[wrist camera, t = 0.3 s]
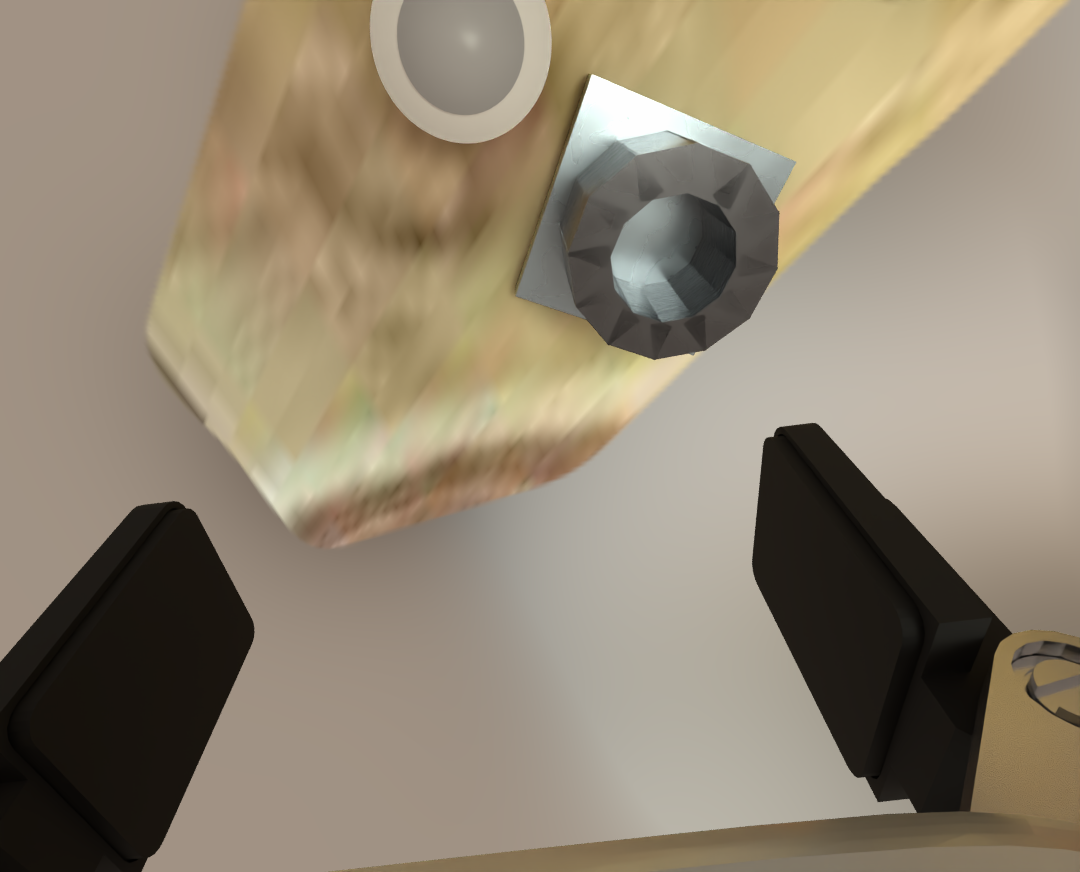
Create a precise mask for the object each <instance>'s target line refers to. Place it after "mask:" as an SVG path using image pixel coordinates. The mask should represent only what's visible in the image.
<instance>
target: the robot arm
mask: <svg viewBox="0 0 1080 872" xmlns="http://www.w3.org/2000/svg"><path fill="white" fill-rule="evenodd" d="M752 567H753V573H754V577H755V580H756V582H757V585H758V587H759V589H760V591H761V593H762V595H763V597H764V599H765V601H766V603H767V605H768V607H769V609H770V611H771V613H772V615H773V617H774V619H775V621H776V623H777V625H778V627H779V629H780V631H781V633H782V635H783V637H784V639H785V641H786V643H787V645H788V647H789V649H790V651H791V653H792V655H793V657H794V659H795V661H796V663H797V665H798V667H799V669H800V671H801V673H802V675H803V677H804V679H805V682H806V684H807V686H808V688H809V690H810V691H811V693H812V696H813V698H814V700H815V702H816V704H817V706H818V708H819V710H820V712H821V714H822V716H823V718H824V720H825V722H826V724H827V726H828V728H829V730H830V732H831V734H832V736H833V738H834V740H835V742H836V744H837V746H838V748H839V750H840V752H841V754H842V756H843V758H844V760H845V762H846V764H847V766H848V768H849V769H850V771H851V772H852V773H853V774H854V776H856V777H857V778H860V777H866V779H867V781H868V783H869V785H870V787H871V789H872V791H873V793H874V795H875V797H876V799H877V801H878V802H883V801H891V800H900V799H910V801H911V803H912V804H913V806H914V808H915V810H916V812H917V813H904V814H883V815H871V816H860V817H848V818H838V819H825V820H814V821H803V822H792V823H780V824H768V825H757V826H745V827H736V828H727V829H719V830H718V829H717V830H709V831H698V832H689V833H679V834H670V835H661V836H651V837H642V838H632V839H623V840H613V841H604V842H594V843H585V844H575V845H567V846H556V847H548V848H538V849H529V850H520V851H511V852H501V853H493V854H484V855H475V856H466V857H456V858H447V859H438V860H429V861H420V862H411V863H403V864H393V865H384V866H376V867H367V868H357V869H348V870H340V871H331V872H1080V638H1079V637H1075V636H1071V635H1067V634H1063V633H1059V632H1055V631H1040V630H1029V631H1024V632H1018V633H1014V634H1012V633H1011V632H1010V631H1009V630H1008V629H1007V627H1006V626H1005V625H1004V624H1003V623H1002V622H1001V621H1000V620H999V619H998V618H997V616H996V615H995V614H994V613H993V612H992V611H991V610H990V609H989V608H988V606H987V605H986V604H985V603H984V602H983V601H982V600H981V599H980V598H979V597H978V595H976V593H975V592H974V591H973V590H972V589H971V588H970V587H969V586H968V585H967V583H966V582H965V581H964V580H963V579H962V578H961V577H960V576H959V575H958V574H957V572H956V571H955V570H954V569H953V568H952V567H951V566H950V565H949V564H948V563H947V561H946V560H945V559H944V558H943V557H942V556H941V555H940V554H939V553H938V552H937V550H936V549H935V548H934V547H933V546H932V545H931V544H930V543H929V542H928V541H927V540H926V538H925V537H924V536H923V535H922V534H921V533H920V532H919V531H918V530H917V529H916V527H915V526H914V525H913V524H912V523H911V522H910V521H909V520H908V519H907V518H906V516H905V515H904V514H903V513H902V512H901V511H900V510H899V509H898V508H897V507H896V506H895V505H894V504H893V503H892V502H891V501H889V500H888V499H885V498H884V497H883V496H882V494H881V493H880V492H879V491H878V490H877V489H876V488H875V487H874V486H873V484H872V483H871V482H870V481H869V480H868V479H867V478H866V477H865V475H864V474H863V473H862V472H861V471H860V470H859V469H858V468H857V467H856V466H855V464H854V463H853V462H852V461H851V460H850V459H849V458H848V457H847V456H846V455H845V453H844V452H843V451H842V450H841V449H840V448H839V447H838V446H837V444H836V443H835V442H834V441H833V440H832V439H831V438H830V437H829V436H828V435H827V434H826V432H825V431H824V430H823V429H822V428H821V427H820V426H819V425H818V424H816V423H808V424H800V425H792V426H785V427H779V428H777V429H776V431H775V433H774V437H768V438H766V439H765V441H764V445H763V455H762V465H761V475H760V486H759V497H758V506H757V517H756V527H755V537H754V547H753V559H752ZM253 638H254V624H253V621H252V618H251V616H250V614H249V613H248V611H247V609H246V607H245V605H244V603H243V601H242V599H241V597H240V595H239V594H238V592H237V590H236V588H235V586H234V584H233V582H232V580H231V578H230V577H229V575H228V573H227V571H226V569H225V567H224V565H223V563H222V562H221V560H220V558H219V556H218V554H217V552H216V550H215V548H214V547H213V544H212V543H211V541H210V539H209V537H208V535H207V533H206V531H205V529H204V527H203V526H202V524H201V522H200V520H199V518H198V516H197V515H196V513H195V512H194V511H193V510H191V509H186V508H185V506H184V505H182V504H181V503H179V502H175V501H172V502H163V503H155V504H147V505H141V506H137V507H136V508H134V509H133V510H132V511H131V512H130V513H129V514H128V515H127V516H126V518H125V519H124V520H123V521H122V522H121V523H120V525H119V526H118V527H117V528H116V529H115V530H114V531H113V533H112V534H111V535H110V536H109V538H107V540H106V541H105V542H104V543H103V544H102V545H101V547H100V548H99V549H98V550H97V551H96V552H95V553H94V555H93V556H92V557H91V558H90V559H89V560H88V562H87V563H86V564H85V565H84V566H83V567H82V569H81V570H80V571H79V572H78V573H77V574H76V575H75V577H74V578H73V579H72V580H71V581H70V582H69V584H68V585H67V586H66V587H65V588H64V589H63V590H62V592H61V593H60V594H59V595H58V596H57V597H56V598H55V600H54V601H53V602H52V603H51V604H50V605H49V607H48V608H47V609H46V610H45V611H44V612H43V614H42V615H41V616H40V617H39V618H38V619H37V620H36V622H35V623H34V624H33V625H32V626H31V627H30V629H29V630H28V631H27V632H26V633H25V634H24V635H23V637H22V638H21V639H20V640H19V641H18V642H17V643H16V645H15V646H14V647H13V648H12V649H11V650H10V652H9V653H8V654H7V655H6V656H5V657H4V659H3V660H2V661H1V662H0V872H141V871H142V869H143V867H144V865H145V863H146V861H147V858H148V857H150V856H152V855H154V854H155V853H156V851H157V850H158V849H159V848H160V846H161V844H162V842H163V840H164V838H165V836H166V834H167V832H168V829H169V827H170V825H171V823H172V820H173V818H174V816H175V814H176V812H177V809H178V807H179V805H180V803H181V800H182V798H183V796H184V794H185V792H186V789H187V787H188V785H189V783H190V780H191V778H192V776H193V774H194V771H195V769H196V766H197V765H198V763H199V760H200V758H201V756H202V754H203V751H204V749H205V747H206V745H207V742H208V740H209V738H210V736H211V734H212V731H213V729H214V727H215V725H216V723H217V720H218V718H219V716H220V713H221V711H222V709H223V707H224V705H225V703H226V700H227V698H228V696H229V694H230V691H231V689H232V687H233V685H234V682H235V680H236V678H237V676H238V674H239V671H240V669H241V667H242V665H243V662H244V660H245V658H246V656H247V654H248V651H249V649H250V647H251V645H252V642H253Z"/></svg>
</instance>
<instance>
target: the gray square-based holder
mask: <svg viewBox="0 0 1080 872" xmlns="http://www.w3.org/2000/svg"><path fill="white" fill-rule="evenodd" d="M795 164H796V162H795V161H793V160H791V159H788V158H786V157H784V156H781V155H779V154H777V153H774V152H772V151H770V150H767V149H765V148H763V147H760V146H758V145H756V144H753V143H751V142H749V141H746V140H744V139H742V138H740V137H737V136H735V135H733V134H730V133H728V132H726V131H723V130H721V129H719V128H716V127H714V126H712V125H709V124H707V123H705V122H702V121H700V120H698V119H695V118H693V117H691V116H688V115H686V114H684V113H681V112H679V111H677V110H674V109H672V108H670V107H667V106H665V105H663V104H660V103H658V102H656V101H653V100H651V99H649V98H646V97H644V96H642V95H639V94H637V93H635V92H632V91H630V90H628V89H625V88H623V87H621V86H618V85H616V84H614V83H611V82H609V81H607V80H604V79H602V78H600V77H597V76H595V75H593V74H589V75H588V77H587V80H586V83H585V86H584V89H583V92H582V95H581V98H580V101H579V104H578V107H577V110H576V113H575V115H574V118H573V121H572V124H571V127H570V130H569V133H568V136H567V139H566V142H565V145H564V148H563V150H562V153H561V156H560V159H559V162H558V165H557V168H556V171H555V174H554V177H553V180H552V183H551V185H550V188H549V191H548V194H547V197H546V200H545V203H544V206H543V209H542V212H541V215H540V218H539V221H538V223H537V226H536V229H535V232H534V235H533V238H532V241H531V244H530V247H529V250H528V253H527V256H526V258H525V261H524V264H523V267H522V270H521V273H520V276H519V279H518V282H517V285H516V288H515V295H516V296H517V297H520V298H523V299H526V300H529V301H532V302H535V303H538V304H541V305H544V306H547V307H550V308H553V309H556V310H559V311H562V312H565V313H568V314H571V315H574V316H577V317H580V318H583V319H586V320H588V322H589V323H590V324H591V325H592V326H593V328H594V329H595V330H596V331H597V332H598V333H599V335H600V336H601V337H602V338H603V339H604V340H605V342H606V343H607V344H608V345H611V346H614V347H617V348H620V349H623V350H626V351H629V352H633V353H636V354H639V355H642V356H645V357H648V358H651V359H653V360H656V359H661V358H666V357H672V356H677V355H683V354H691V355H694V354H695V352H699V351H705V350H706V349H708V348H709V347H710V346H712V345H713V344H715V343H716V342H717V341H719V340H720V339H722V338H723V337H724V336H726V335H727V334H728V333H730V332H731V331H733V330H734V329H735V328H737V327H738V326H740V325H741V324H742V323H744V322H745V321H747V320H748V319H749V318H750V317H751V315H752V313H753V311H754V310H755V308H756V306H757V304H758V302H759V301H760V299H761V297H762V295H763V294H764V292H765V290H766V288H767V286H768V285H769V283H770V281H771V279H772V278H773V276H774V274H775V272H776V270H777V269H778V267H777V264H778V234H779V214H780V213H779V211H778V210H777V208H776V206H775V205H774V203H775V201H776V199H777V197H778V196H779V194H780V192H781V190H782V188H783V186H784V184H785V182H786V180H787V179H788V177H789V175H790V173H791V171H792V169H793V167H794V165H795Z"/></svg>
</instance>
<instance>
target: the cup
mask: <svg viewBox="0 0 1080 872" xmlns="http://www.w3.org/2000/svg"><path fill="white" fill-rule="evenodd" d="M370 39H371V48H372V53H373V58H374V62H375V65H376V68H377V71H378V74H379V77H380V79H381V81H382V83H383V85H384V88H385V89H386V91H387V93H388V94H389V96H390V98H391V99H392V101H393V102H394V103H395V105H396V106H397V107H398V109H399V110H400V111H401V112H402V113H403V114H404V115H405V116H406V117H407V118H408V119H409V120H410V121H411V122H413V123H414V124H415V125H416V126H417V127H419V128H420V129H422V130H424V131H425V132H427V133H428V134H431V135H433V136H435V137H437V138H440V139H443V140H446V141H449V142H456V143H479V142H484V141H488V140H491V139H494V138H496V137H499V136H501V135H503V134H505V133H506V132H508V131H509V130H511V129H512V128H514V127H515V126H516V125H517V124H518V123H520V122H521V121H522V120H523V119H524V117H525V116H526V115H527V114H528V113H529V112H530V110H531V109H532V107H533V106H534V104H535V103H536V101H537V99H538V97H539V96H540V94H541V92H542V89H543V87H544V84H545V81H546V78H547V74H548V70H549V66H550V59H551V47H552V36H551V25H550V19H549V14H548V10H547V6H546V3H545V0H373V2H372V7H371V15H370Z"/></svg>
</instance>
